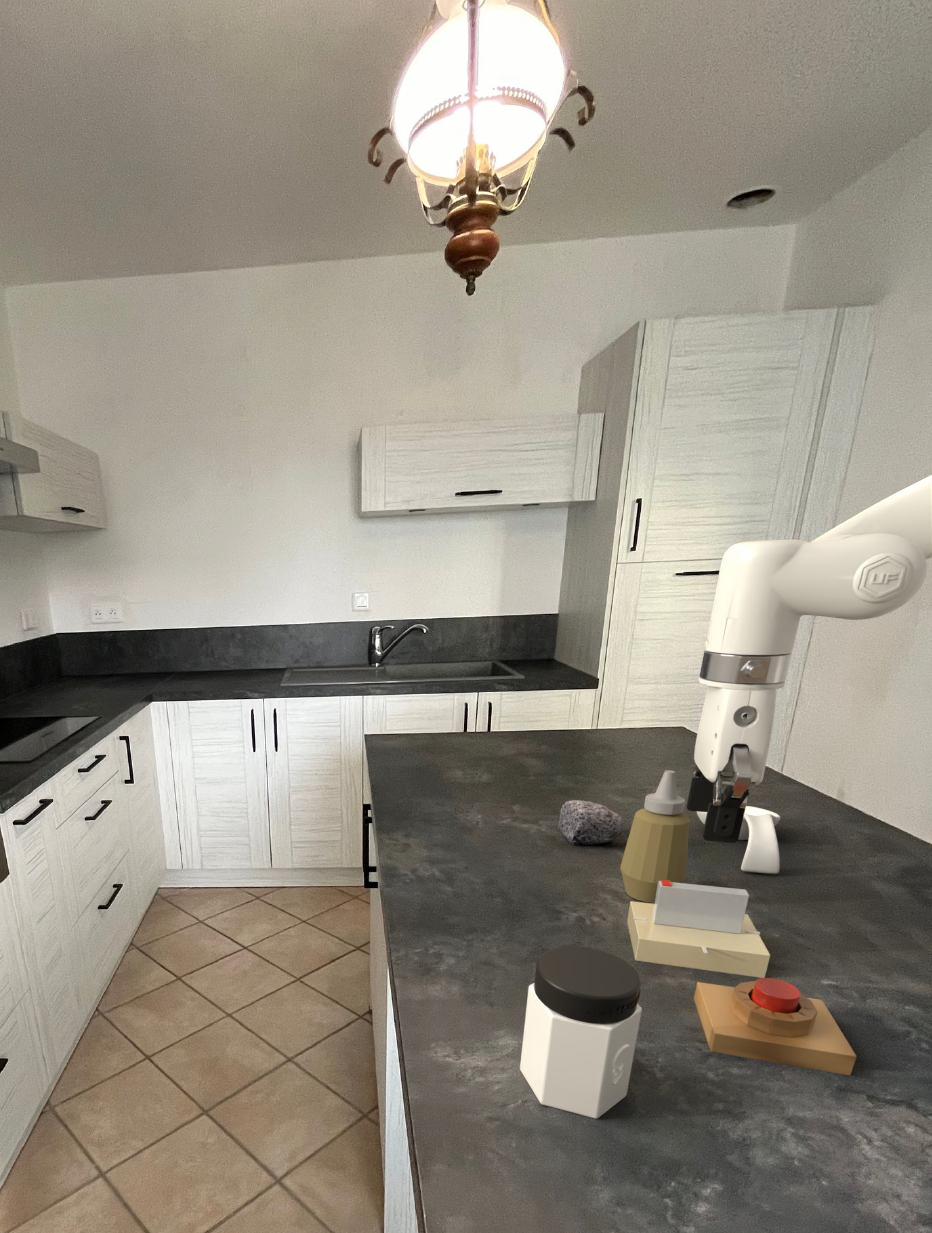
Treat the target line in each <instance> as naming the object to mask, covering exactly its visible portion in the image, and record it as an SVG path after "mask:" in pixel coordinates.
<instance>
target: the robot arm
mask: <svg viewBox="0 0 932 1233" xmlns="http://www.w3.org/2000/svg"><path fill="white" fill-rule="evenodd" d="M931 558H932V474H931V475H929V476H927V477H925V478H923V479H921V480H919V481H917V482H914V483H913V484H911V485H909V486H907V487H905V488H903V489H901V490H899V491H897V492H895V493H893V494H891V495H890V496H888V497H885V498H883V499H882V500H879V501H878V502H876V503H875V504H873V505H871V506H869V507H868V508H866V509H864V510H862V511H860V512H858V513H857V514H855V515H854V516H852V517H850V518H849V519H846V520H845V521H844V522H842V523H840V524H838V525H837V526H835V527H833V528H832V529H829V530H828V531H826V532H825V533H823V534H821V535H820V536H818V537H816V538H814V539H813V540H811V541H807V540H804V539H796V538H795V539H790V538H789V539H760V540H747V541H741V542H737V543H733V544H732V545H731V546H729V547H728V548H727V549H726V551H725V552H724V554H723V556H722V558H721V562H720V567H719V572H718V577H717V582H716V588H715V592H714V599H713V604H712V607H711V608H712V609H711V614H710V619H709V624H708V628H707V629H708V631H707V635H706V640H705V644H704V651H703V657H702V661H701V667H700V671H699V676H698V683H699V684H700V685H703V686H707V689H706V693H705V695H704V701H703V705H702V710H701V715H700V719H699V724H698V729H697V734H696V738H695V739H696V740H695V745H694V753H693V754H694V755H693V760H694V763H695V766H694V769H693V776H692V777H691V782H690V786H689V792H688V797H687V803H686V810H688V811H689V812H696V811H697V812H707V815H706V820H705V824H703V825H704V826H703V830H702V834H701V836H702V838H703V840H704V841H708V842H720V843H731V844H734V843H738V841H739V840H738V838H739V834H740V830H741V825H742V821H743V817H744V812H745V808H746V806H748V805H747V804H748V797H749V795H750V789H749V786H750V785H752V786H758V785H760V784H761V783H762V782H763V779H764V776H765V771H766V765H767V759H768V754H769V750H770V742H771V739H772V738H771V737H772V732H773V725H774V719H775V712H776V702H777V690H778V689H782V688H784V687H785V683H786V679H787V675H788V671H789V667H790V662H791V658H792V654H793V649H794V646H795V642H796V638H797V632H798V629H799V624H800V620H801V617H803V616H815V617H824V618H825V617H826V618H835V619H841V620H848V621H849V620H850V621H859V620H860V621H861V620H869V619H874V618H879V617H883V616H885V615H887V614H890V613H893V612H894V611H897V610H898V609H900V608H901V607H903V606H904V605H906V604H907V603H908V602H909V601H910V600H912V598H914V596H915V595H916V594H918V592H919V591H920V589H921V588H922V586H923V584H924V582H925V580H926V575H927V572H928V565H927V560H929V559H931ZM724 786H726V787H725V788H724ZM723 789H724V790H723ZM697 812H696V813H697Z"/></svg>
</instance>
